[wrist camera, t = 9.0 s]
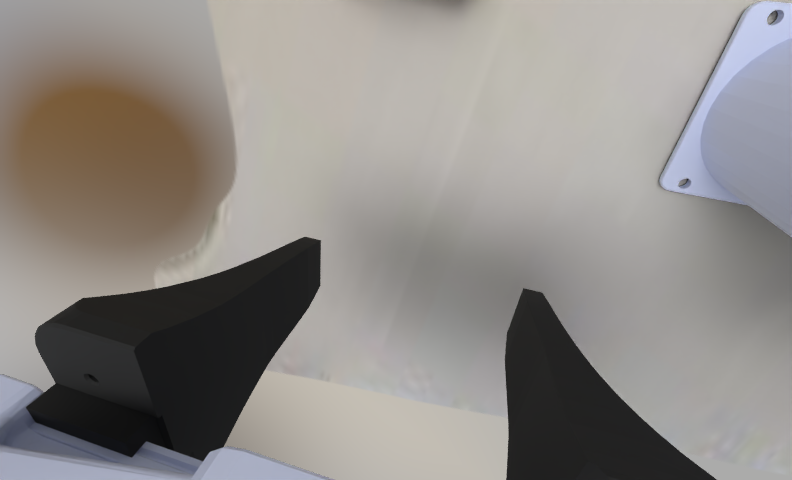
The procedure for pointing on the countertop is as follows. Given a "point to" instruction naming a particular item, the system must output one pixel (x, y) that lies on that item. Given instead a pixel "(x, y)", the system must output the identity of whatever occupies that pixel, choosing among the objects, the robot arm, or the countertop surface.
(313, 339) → the countertop surface
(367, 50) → the countertop surface
